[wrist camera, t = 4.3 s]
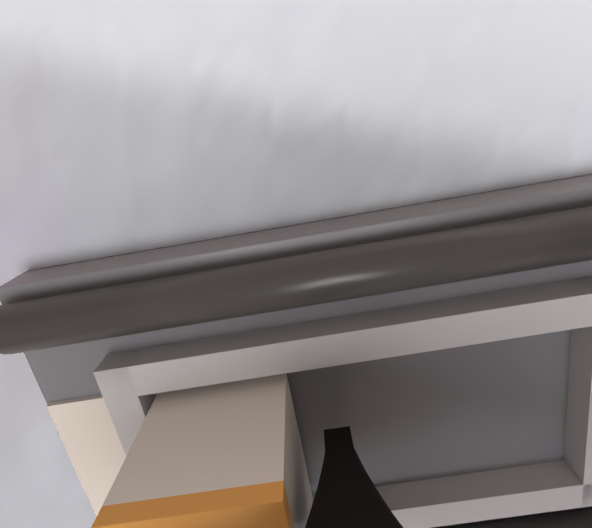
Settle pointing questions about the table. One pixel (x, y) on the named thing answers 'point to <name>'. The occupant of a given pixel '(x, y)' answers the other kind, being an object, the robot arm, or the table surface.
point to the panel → (351, 348)
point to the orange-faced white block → (214, 461)
